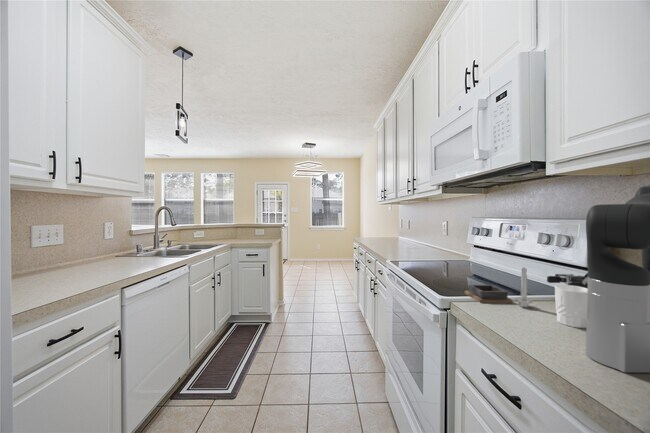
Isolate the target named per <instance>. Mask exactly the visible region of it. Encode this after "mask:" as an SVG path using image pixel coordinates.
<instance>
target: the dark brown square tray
mask: <svg viewBox="0 0 650 433" xmlns="http://www.w3.org/2000/svg"><path fill="white" fill-rule="evenodd" d="M464 294H465V295H466V296H469V297H470V298H471V299H474V300H475V301H477V302H478V303H480V304H481V303H483V304H484V303H485V304H486V303H487V304H489V303H493V304H496V303H497V304H498V303H500V304H502V303H504V304H508V303H509V304H510V303H511V304H512V303H513V299H511V298H509V296H508V291H507V290H505V289H502V288H500V287H498V286H496V285H493V284H468V290H464Z"/></svg>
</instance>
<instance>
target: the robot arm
mask: <svg viewBox="0 0 650 433" xmlns="http://www.w3.org/2000/svg"><path fill="white" fill-rule="evenodd" d="M585 221H586V222H585V233H586V234H585V235H586V251H587V252H586V253H587V255H586V256H587V257H586V260H587V261H586V263H587V273H586V274H584V275H580V274H579V275H578V274H577V275H575V274H570V273H567V274H566V273H561V274H560V273H555V275H547V276H546V281H547V283H549V284H563V285H573V286H579V287H584V288H587V289H588V290H587V327H586V328H585V329H586V332H585V333H586V334H585V336H586V341H585V343H586V344H585V353H586V355H587V357H588V358H590V359H591V360H593V361H596V363H599V364H601V365H604V366H607V367H610V368H612V369H616V370H619V371H620V372H622V373H647V374H648V373H649V374H650V185H648V186H647V185H646V186H641V187H639V188H638V190H637V191H636V192H635V195H634V197H632V198H630V199H628V200H627V201H626V202H625V203H624V204H623V203H615V204H614V203H613V204H612V203H610V204H608V203H607V204H605V203H604V204H595V205H592V206H591V207H590V208H589V210H588V212H587V214H586V220H585ZM611 248H615V249H627V250H631V249H632V250H637V251H638V250H641V265H642V266H641V265H636V264H635V263H631V262H629V261H626V260H624V259H623V258H621V257H619V256H617V255H616V254H615V253H614V252H612V249H611Z"/></svg>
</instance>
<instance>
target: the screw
mask: <svg viewBox="0 0 650 433" xmlns="http://www.w3.org/2000/svg"><path fill="white" fill-rule="evenodd" d="M527 271H528V270H527V268H526V267H522V268H521V276H520V296H517V297H515V298H514V300H515V302H517V303H518V306H519V307H521V308H527V309H528V308H529V306H530V304H532V303H533V302H534V301H533V300H532V299H531V298H528V276H527Z"/></svg>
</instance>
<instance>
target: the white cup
mask: <svg viewBox="0 0 650 433" xmlns="http://www.w3.org/2000/svg"><path fill="white" fill-rule="evenodd" d="M587 290H588V289H587V288H584V287H579V286H573V285H566V284H556V285H555V284H554V299H555V300H554V301H555V313H556V321H557V322H558V323H559V324H561V325H564V326H568V327H572V328H578V329H586V327H587Z"/></svg>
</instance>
